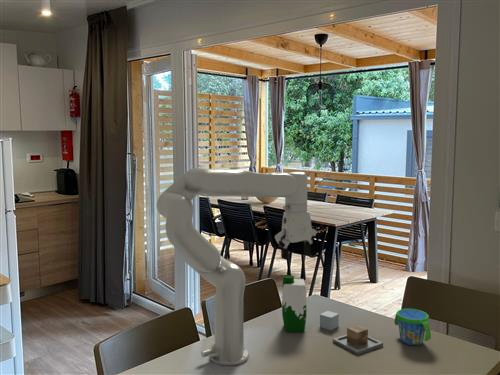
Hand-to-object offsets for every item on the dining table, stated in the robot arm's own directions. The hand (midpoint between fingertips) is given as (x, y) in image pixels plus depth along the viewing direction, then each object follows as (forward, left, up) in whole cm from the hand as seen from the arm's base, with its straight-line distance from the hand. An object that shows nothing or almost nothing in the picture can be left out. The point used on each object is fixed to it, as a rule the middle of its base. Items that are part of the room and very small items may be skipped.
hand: (296, 256), depth 167 cm
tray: (+16, -14, -30) cm, 37 cm away
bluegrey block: (+18, +3, -30) cm, 35 cm away
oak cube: (+16, -14, -30) cm, 36 cm away
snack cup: (+33, -23, -31) cm, 50 cm away
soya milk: (+6, +9, -31) cm, 32 cm away
